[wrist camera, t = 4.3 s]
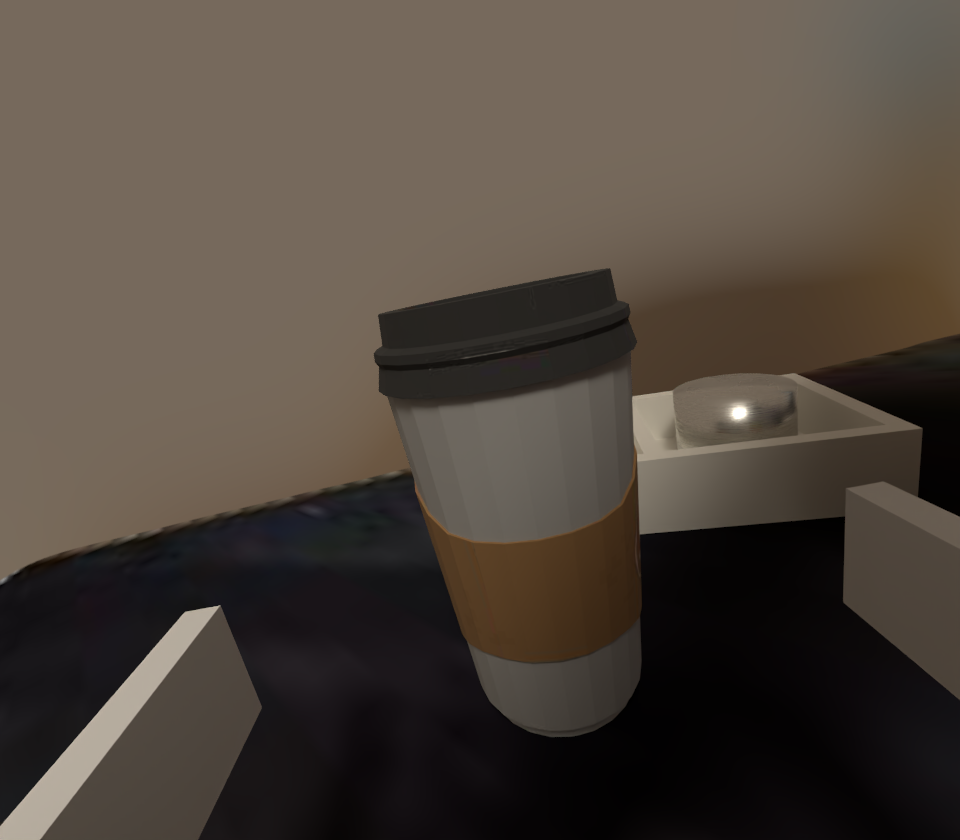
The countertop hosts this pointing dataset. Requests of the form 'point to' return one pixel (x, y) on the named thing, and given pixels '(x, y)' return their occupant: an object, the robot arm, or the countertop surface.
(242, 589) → the countertop surface
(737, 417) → the metal tin
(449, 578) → the coffee cup
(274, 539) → the countertop surface
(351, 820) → the countertop surface
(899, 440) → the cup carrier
